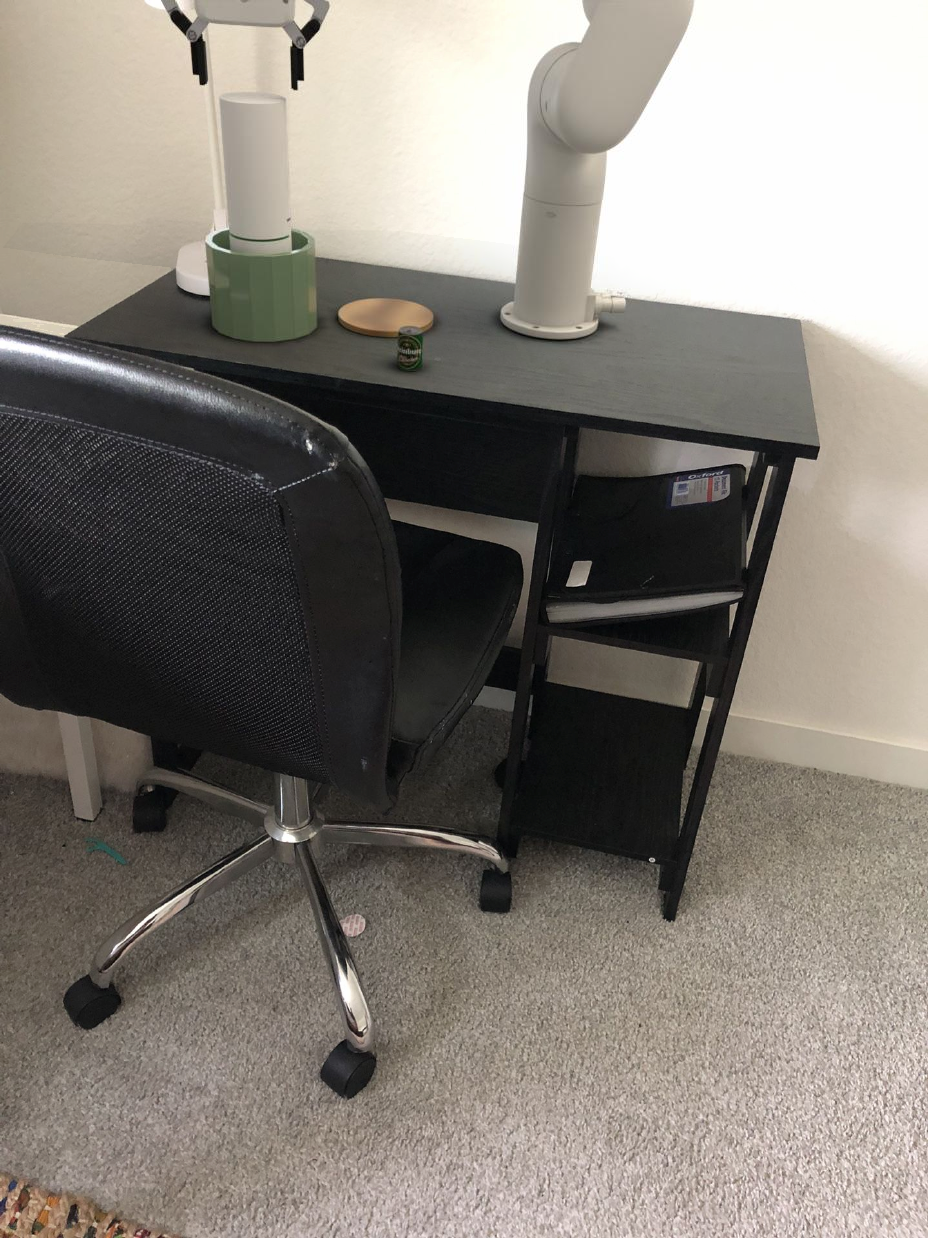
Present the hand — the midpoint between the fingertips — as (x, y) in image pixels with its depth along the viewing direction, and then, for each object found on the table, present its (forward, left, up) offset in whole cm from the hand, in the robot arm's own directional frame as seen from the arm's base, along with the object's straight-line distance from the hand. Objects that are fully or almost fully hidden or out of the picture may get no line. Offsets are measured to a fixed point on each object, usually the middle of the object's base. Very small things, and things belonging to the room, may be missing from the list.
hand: (249, 85), depth 109 cm
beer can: (-17, +14, -26) cm, 34 cm away
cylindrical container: (0, 0, -26) cm, 26 cm away
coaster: (-15, -2, -26) cm, 30 cm away
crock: (0, 0, -26) cm, 26 cm away
